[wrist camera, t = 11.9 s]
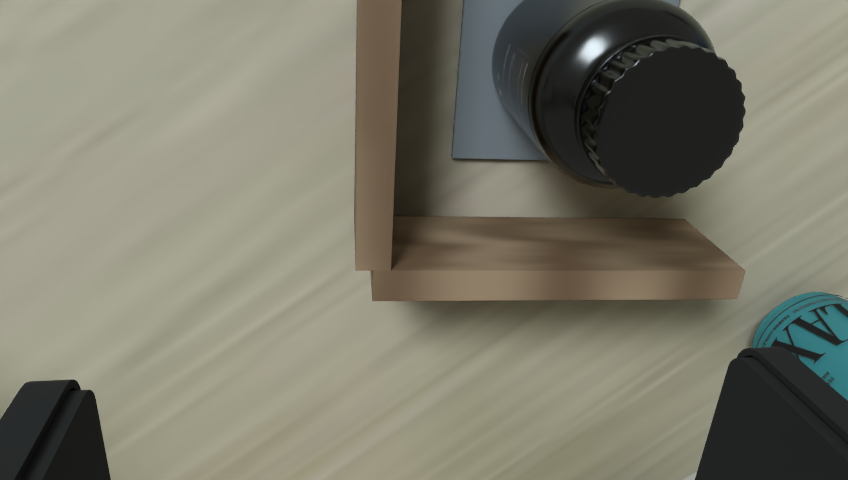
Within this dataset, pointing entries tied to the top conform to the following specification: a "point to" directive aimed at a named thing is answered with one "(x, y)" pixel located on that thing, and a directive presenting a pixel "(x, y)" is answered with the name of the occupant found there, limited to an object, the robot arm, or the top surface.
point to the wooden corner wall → (502, 223)
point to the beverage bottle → (811, 335)
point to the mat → (486, 90)
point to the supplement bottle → (619, 92)
